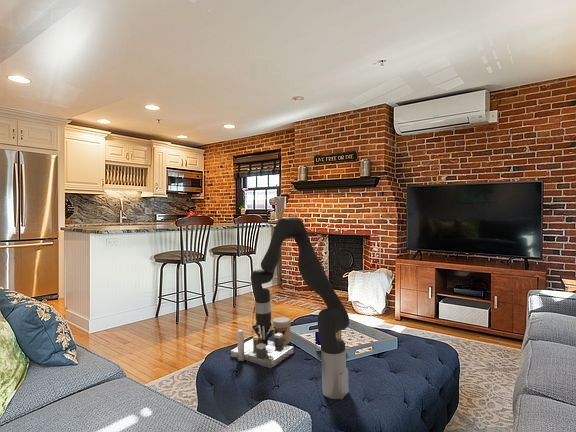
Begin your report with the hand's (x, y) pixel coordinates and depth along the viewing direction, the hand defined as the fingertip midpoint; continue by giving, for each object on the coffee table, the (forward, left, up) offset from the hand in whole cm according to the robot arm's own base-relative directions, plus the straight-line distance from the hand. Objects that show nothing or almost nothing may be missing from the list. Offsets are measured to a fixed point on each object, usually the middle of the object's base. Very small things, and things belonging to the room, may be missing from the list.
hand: (264, 346), depth 177 cm
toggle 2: (-4, +7, -1) cm, 8 cm away
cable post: (+6, +10, -5) cm, 12 cm away
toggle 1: (+4, 0, -1) cm, 4 cm away
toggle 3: (-4, -7, -1) cm, 8 cm away
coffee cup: (+1, -17, -5) cm, 18 cm away
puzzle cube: (-24, -21, -5) cm, 32 cm away
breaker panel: (+1, 0, -5) cm, 5 cm away
